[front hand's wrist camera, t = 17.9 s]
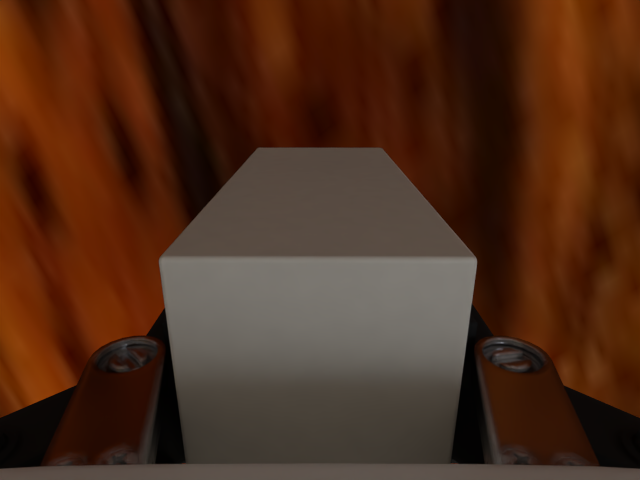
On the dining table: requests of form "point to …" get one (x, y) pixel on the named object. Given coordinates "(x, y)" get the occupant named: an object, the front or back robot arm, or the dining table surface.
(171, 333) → the brick
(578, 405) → the front robot arm
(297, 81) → the dining table surface
